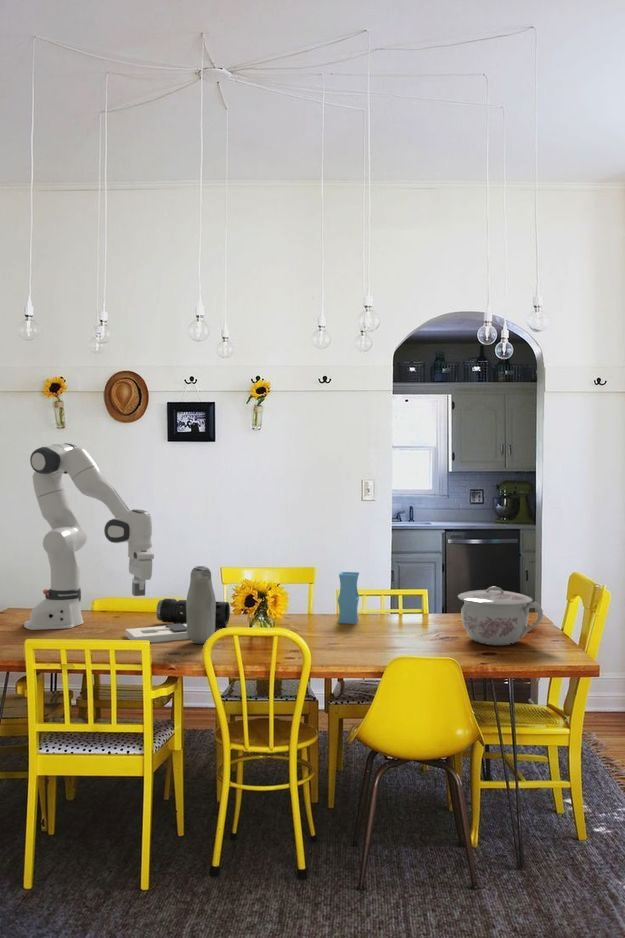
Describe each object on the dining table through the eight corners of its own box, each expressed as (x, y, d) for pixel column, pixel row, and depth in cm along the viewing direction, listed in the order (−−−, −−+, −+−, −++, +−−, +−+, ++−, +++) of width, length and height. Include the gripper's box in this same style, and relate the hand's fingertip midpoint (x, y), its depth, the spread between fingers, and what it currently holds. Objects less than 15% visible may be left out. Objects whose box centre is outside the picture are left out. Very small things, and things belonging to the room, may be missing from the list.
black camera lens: (223, 629, 318) (224, 603, 318) (155, 626, 322) (155, 600, 322) (230, 624, 328) (230, 599, 327) (163, 621, 332) (163, 596, 331)
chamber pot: (443, 636, 312) (444, 582, 311) (504, 631, 321) (505, 579, 321) (483, 653, 285) (484, 594, 285) (548, 647, 295) (549, 591, 295)
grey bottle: (220, 642, 297) (220, 565, 296) (201, 647, 288) (202, 569, 287) (199, 638, 302) (200, 563, 301) (180, 644, 293) (181, 566, 293)
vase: (356, 623, 332) (357, 575, 331) (337, 623, 333) (338, 574, 332) (358, 620, 339) (359, 572, 339) (339, 619, 341) (340, 571, 340)
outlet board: (134, 644, 292) (135, 634, 292) (125, 635, 305) (125, 627, 305) (198, 638, 303) (198, 629, 303) (187, 630, 316) (187, 621, 315)
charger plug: (134, 596, 308) (135, 580, 307) (132, 594, 311) (132, 578, 311) (145, 595, 309) (145, 579, 309) (142, 593, 313) (142, 578, 313)
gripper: (125, 549, 318) (124, 584, 318) (138, 555, 300) (138, 593, 300) (141, 548, 321) (140, 583, 321) (155, 555, 302) (154, 592, 303)
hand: (139, 588), depth 310 cm, fingers closed on charger plug, 4 cm apart
